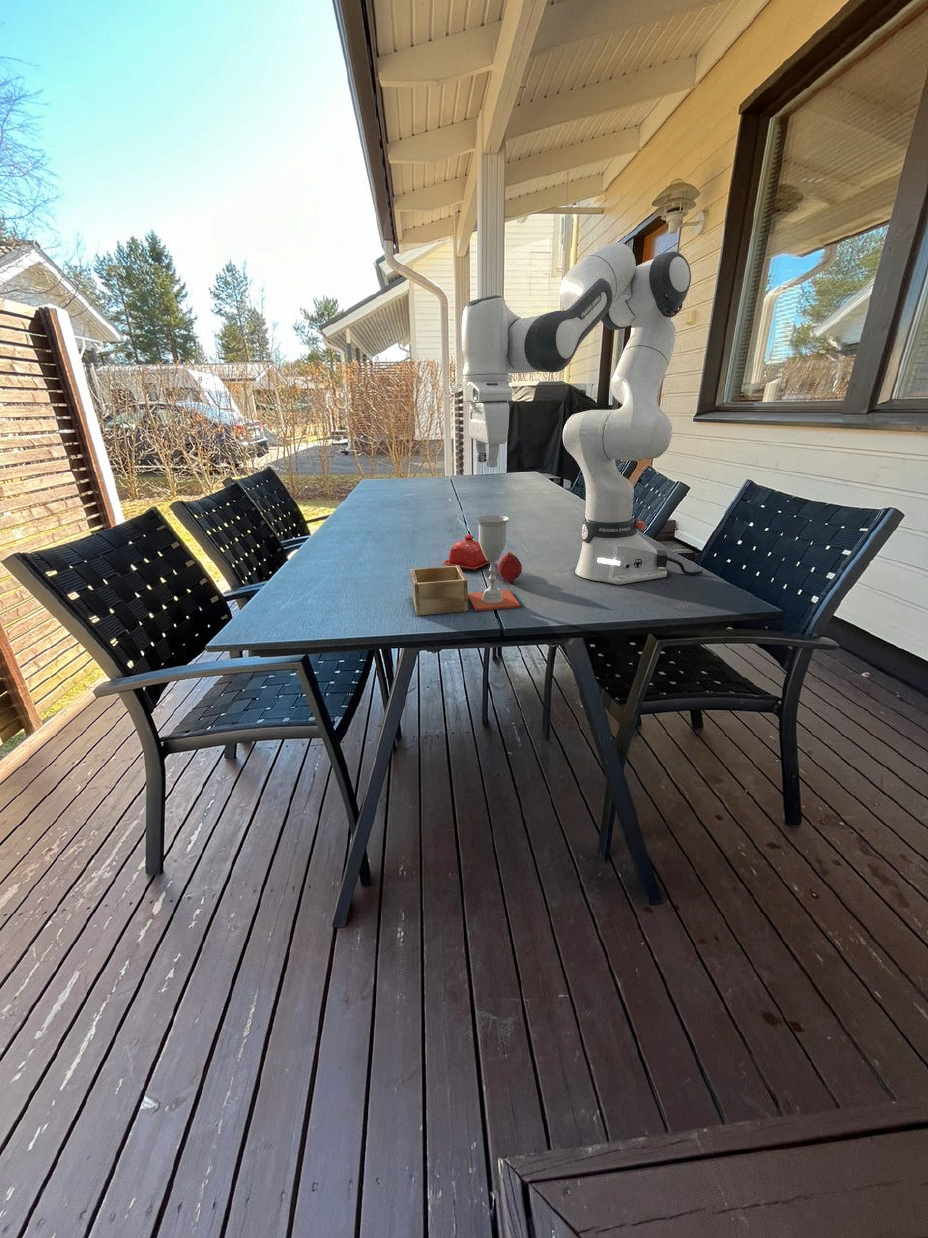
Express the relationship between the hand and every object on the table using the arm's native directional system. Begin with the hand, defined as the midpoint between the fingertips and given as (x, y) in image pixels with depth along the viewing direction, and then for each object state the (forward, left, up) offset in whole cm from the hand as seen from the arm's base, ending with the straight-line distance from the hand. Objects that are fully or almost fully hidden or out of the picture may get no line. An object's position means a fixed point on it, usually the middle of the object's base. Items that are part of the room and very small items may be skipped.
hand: (486, 464), depth 108 cm
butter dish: (-1, -27, -30) cm, 40 cm away
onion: (-8, -10, -30) cm, 32 cm away
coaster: (-1, +2, -29) cm, 30 cm away
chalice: (-1, +2, -29) cm, 29 cm away
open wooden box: (+11, +1, -29) cm, 32 cm away
